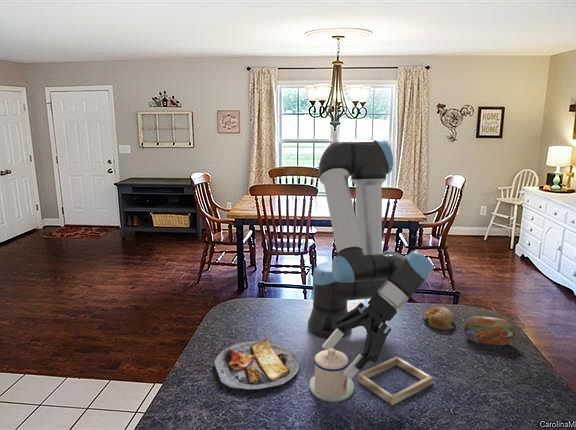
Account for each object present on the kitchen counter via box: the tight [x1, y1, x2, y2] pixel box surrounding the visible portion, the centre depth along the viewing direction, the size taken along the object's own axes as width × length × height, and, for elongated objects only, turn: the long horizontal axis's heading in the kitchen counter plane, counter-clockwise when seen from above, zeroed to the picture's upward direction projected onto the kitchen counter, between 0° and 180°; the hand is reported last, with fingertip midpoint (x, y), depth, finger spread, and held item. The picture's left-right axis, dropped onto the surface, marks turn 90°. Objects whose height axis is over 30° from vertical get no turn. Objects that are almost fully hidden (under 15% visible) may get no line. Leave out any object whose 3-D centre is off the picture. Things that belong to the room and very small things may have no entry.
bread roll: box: [423, 306, 456, 331], centre depth 154 cm, size 10×10×8 cm
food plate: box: [213, 338, 300, 390], centre depth 127 cm, size 25×23×4 cm
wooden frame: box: [356, 355, 434, 406], centre depth 120 cm, size 13×16×2 cm
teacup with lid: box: [313, 347, 350, 399], centre depth 116 cm, size 12×9×12 cm
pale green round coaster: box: [309, 375, 355, 403], centre depth 118 cm, size 12×12×1 cm
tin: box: [463, 315, 516, 346], centre depth 141 cm, size 15×3×8 cm, turn 73°
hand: (335, 362), depth 116 cm, fingers open, 13 cm apart
